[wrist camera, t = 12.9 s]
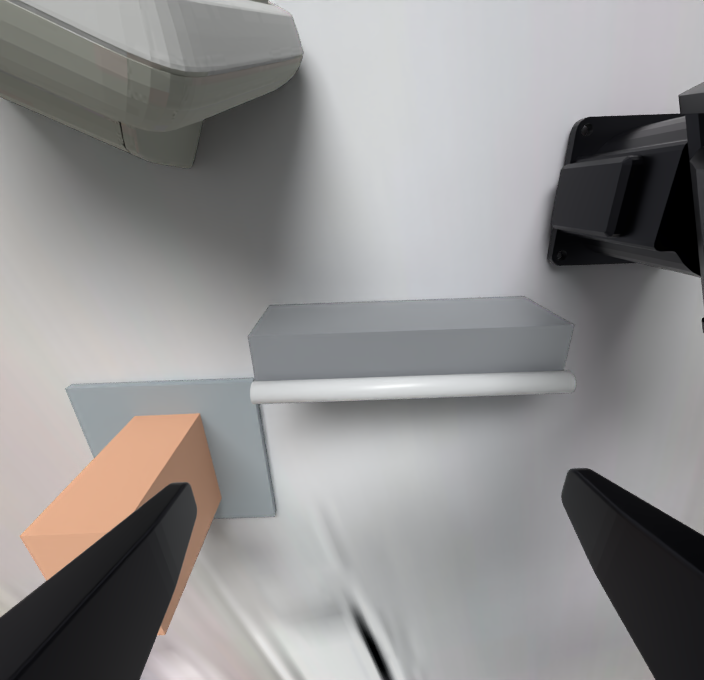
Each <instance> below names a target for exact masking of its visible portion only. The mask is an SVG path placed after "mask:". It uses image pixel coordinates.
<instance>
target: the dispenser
mask: <svg viewBox="0 0 704 680" xmlns="http://www.w3.org/2000/svg"><path fill="white" fill-rule="evenodd" d="M573 328H574V325H573V324H572V323H570V322H568V321H566V320H565V319H563V318H561V317H560V316H558V315H556V314H554V313H553V312H551V311H549V310H547V309H546V308H544V307H542V306H540V305H539V304H537V303H535V302H533V301H532V300H530V299H528V298H526V297H525V296H518V297H489V298H461V299H432V300H404V301H375V302H347V303H318V304H290V305H270V306H269V307H268V308H267V310H266V311H265V313H264V314H263V316H262V317H261V318H260V320H259V321H258V323H257V324H256V326H255V327H254V328H253V330H252V331H251V333H250V334H249V336H248V340H249V346H250V352H251V358H252V364H253V370H254V377H255V381H253V382H252V384H251V388H250V399H251V402H252V404H273V403H302V402H330V401H359V400H387V399H416V398H444V397H473V396H501V395H530V394H558V393H572V392H574V390H575V388H576V379H575V376H574V374H573V373H572V372H571V371H569V370H565V371H564V366H565V362H566V358H567V354H568V349H569V345H570V341H571V337H572V333H573Z"/></svg>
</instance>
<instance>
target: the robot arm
mask: <svg viewBox="0 0 704 680" xmlns="http://www.w3.org/2000/svg"><path fill="white" fill-rule="evenodd" d="M679 105H680V114H657V115H629V116H601V117H588V118H584V119H581V120H579V121H578V122H576V123H575V124H574V126H573V127H572V130H571V133H570V139H569V144H568V149H567V155H566V160H565V165H564V168H563V169H562V170H561V172H560V177H559V183H558V188H557V194H556V199H555V204H554V210H553V215H552V221H551V225H552V226H553V229H552V235H551V240H550V245H549V251H548V260H549V262H551V263H552V264H555V265H559V266H561V265H590V264H618V263H641V264H645V265H650V266H654V267H658V268H662V269H667V270H671V271H675V272H679V273H684V274H688V275H692V276H696V277H701V283H702V293H703V303H704V82H703V83H701V84H699V85H697V86H695V87H693V88H691V89H689V90H687V91H685V92H683V93H682V94H680V95H679ZM584 125H585V126H586V127H587V134H586V135H585V136H583V135H582V128H583V126H584ZM560 251H562V256H561V257H560V258H559V259H557V254H558V253H559V252H560ZM702 329H703V333H704V318H702ZM561 498H562V503H563V506H564V508H565V510H566V512H567V514H568V517H569V519H570V521H571V523H572V525H573V527H574V530H575V532H576V534H577V536H578V538H579V540H580V543H581V545H582V547H583V549H584V551H585V553H586V556H587V558H588V560H589V562H590V564H591V566H592V568H593V570H594V572H595V574H596V576H597V578H598V580H599V581H600V583H601V585H602V587H603V589H604V590H605V592H606V594H607V596H608V597H609V599H610V601H611V603H612V604H613V606H614V608H615V610H616V611H617V613H618V615H619V617H620V618H621V620H622V622H623V624H624V625H625V627H626V629H627V631H628V632H629V634H630V636H631V638H632V639H633V641H634V643H635V645H636V646H637V648H638V650H639V652H640V653H641V655H642V657H643V659H644V660H645V662H646V664H647V666H648V667H649V669H650V671H651V673H652V674H653V676H654V678H655V680H704V536H703V535H702V534H700V533H698V532H696V531H695V530H693V529H691V528H690V527H688V526H686V525H685V524H683V523H681V522H679V521H678V520H676V519H674V518H673V517H671V516H669V515H667V514H666V513H664V512H662V511H661V510H659V509H657V508H656V507H654V506H652V505H650V504H649V503H647V502H645V501H644V500H642V499H640V498H639V497H637V496H635V495H633V494H632V493H630V492H628V491H627V490H625V489H623V488H621V487H620V486H618V485H616V484H615V483H613V482H611V481H610V480H608V479H606V478H604V477H603V476H601V475H599V474H598V473H596V472H594V471H592V470H591V469H588V468H575V469H570V470H569V471H568V473H567V476H566V479H565V483H564V486H563V490H562V495H561ZM196 517H197V505H196V501H195V498H194V494H193V491H192V487H191V485H190V484H189V483H188V482H174V483H170V484H169V485H167V486H166V487H165V488H163V489H162V490H161V491H159V492H158V493H157V494H156V495H154V496H153V497H152V498H151V499H149V500H148V501H147V502H146V503H144V504H143V505H142V506H141V507H139V508H138V509H137V510H135V511H134V512H133V513H132V514H130V515H129V516H128V517H127V518H125V519H124V520H123V521H122V522H120V523H119V524H118V525H117V526H115V527H114V528H113V529H111V530H110V531H109V532H108V533H106V534H105V535H104V536H103V537H101V538H100V539H99V540H98V541H96V542H95V543H94V544H93V545H91V546H90V547H89V548H87V549H86V550H85V551H84V552H82V553H81V554H80V555H79V556H77V557H76V558H75V559H74V560H72V561H71V562H70V563H69V564H67V565H66V566H65V567H63V568H62V569H61V570H60V571H58V572H57V573H56V574H55V575H53V576H52V577H51V578H50V579H48V580H47V581H46V582H44V583H43V584H42V585H41V586H39V587H38V588H37V589H36V590H34V591H33V592H32V593H31V594H29V595H28V596H27V597H26V598H24V599H23V600H22V601H20V602H19V603H18V604H17V605H15V606H14V607H13V608H12V609H10V610H9V611H8V612H7V613H5V614H4V615H3V616H2V617H0V680H140V677H141V675H142V672H143V670H144V667H145V664H146V662H147V659H148V657H149V654H150V652H151V649H152V647H153V644H154V642H155V639H156V637H157V634H158V632H159V629H160V627H161V624H162V622H163V619H164V616H165V614H166V611H167V609H168V606H169V604H170V601H171V599H172V596H173V593H174V591H175V588H176V585H177V582H178V579H179V575H180V572H181V569H182V565H183V562H184V558H185V555H186V551H187V548H188V545H189V541H190V538H191V534H192V531H193V527H194V524H195V520H196Z"/></svg>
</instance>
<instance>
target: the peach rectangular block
mask: <svg viewBox="0 0 704 680" xmlns="http://www.w3.org/2000/svg"><path fill="white" fill-rule="evenodd" d="M174 482H188V483H189V484H190V485H191V487H192V491H193V494H194V498H195V501H196V505H197V517H196V520H195V524H194V527H193V531H192V534H191V538H190V541H189V545H188V548H187V551H186V555H185V558H184V562H183V565H182V569H181V572H180V575H179V579H178V582H177V585H176V588H175V591H174V593H173V596H172V599H171V601H170V604H169V606H168V609H167V611H166V614H165V616H164V619H163V622H162V624H161V627H160V629H159V632H158V634H157V635H165V634H166V632H167V629H168V627H169V624H170V622H171V620H172V617H173V615H174V612H175V610H176V608H177V605H178V603H179V600H180V598H181V595H182V593H183V591H184V588H185V586H186V583H187V581H188V578H189V576H190V574H191V571H192V569H193V566H194V564H195V561H196V559H197V557H198V554H199V552H200V549H201V547H202V545H203V542H204V540H205V537H206V535H207V532H208V530H209V528H210V525H211V523H212V520H213V518H214V515H215V513H216V511H217V508H218V506H219V503H220V501H221V498H222V497H221V493H220V489H219V486H218V482H217V478H216V474H215V470H214V466H213V462H212V458H211V454H210V451H209V447H208V443H207V439H206V435H205V431H204V427H203V423H202V419H201V416H200V413H195V414H172V415H148V416H134V417H133V418H132V419H131V420H130V421H129V423H128V424H127V425H126V426H125V427H124V428H123V429H122V430H121V431H120V432H119V433H118V434H117V435H116V436H115V437H114V438H113V439H112V440H111V441H110V442H109V443H108V444H107V446H106V447H105V448H104V449H103V450H102V451H101V452H100V453H99V454H98V455H97V456H96V457H95V458H94V459H93V460H92V461H91V462H90V463H89V464H88V465H87V466H86V467H85V468H84V470H83V471H82V472H81V473H80V474H79V475H78V476H77V477H76V478H75V479H74V480H73V481H72V482H71V483H70V484H69V485H68V486H67V487H66V488H65V489H64V490H63V491H62V492H61V494H60V495H59V496H58V497H57V498H56V499H55V500H54V501H53V502H52V503H51V504H50V505H49V506H48V507H47V508H46V509H45V510H44V511H43V512H42V513H41V514H40V515H39V517H38V518H37V519H36V520H35V521H34V522H33V523H32V524H31V525H30V526H29V527H28V528H27V529H26V530H25V531H24V532H23V533H22V534H21V535H20V538H21V539H22V541H23V543H24V544H25V546H26V548H27V549H28V551H29V552H30V554H31V556H32V557H33V559H34V561H35V562H36V564H37V566H38V567H39V569H40V571H41V572H42V574H43V576H44V577H45V579H46V581H47V580H48V579H50V578H51V577H52V576H53V575H55V574H56V573H57V572H58V571H60V570H61V569H62V568H63V567H65V566H66V565H67V564H69V563H70V562H71V561H72V560H74V559H75V558H76V557H77V556H79V555H80V554H81V553H82V552H84V551H85V550H86V549H87V548H89V547H90V546H91V545H93V544H94V543H95V542H96V541H98V540H99V539H100V538H101V537H103V536H104V535H105V534H106V533H108V532H109V531H110V530H111V529H113V528H114V527H115V526H117V525H118V524H119V523H120V522H122V521H123V520H124V519H125V518H127V517H128V516H129V515H130V514H132V513H133V512H134V511H135V510H137V509H138V508H139V507H141V506H142V505H143V504H144V503H146V502H147V501H148V500H149V499H151V498H152V497H153V496H154V495H156V494H157V493H158V492H159V491H161V490H162V489H163V488H165V487H166V486H167V485H169V484H170V483H174Z"/></svg>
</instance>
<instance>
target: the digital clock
mask: <svg viewBox="0 0 704 680" xmlns="http://www.w3.org/2000/svg"><path fill="white" fill-rule="evenodd" d="M303 54H304V52H303V48H302V45H301V41H300V38H299V34H298V31H297V28H296V25H295V23H294V20H293V17H292V15H291V14H290V13H289V12H287V11H286V10H284V9H282V8H280V7H279V6H277V5H275V4H273V3H272V2H270V1H268V0H0V97H2V98H4V99H7V100H9V101H11V102H13V103H16V104H18V105H20V106H23V107H25V108H27V109H29V110H32V111H34V112H36V113H39V114H41V115H43V116H45V117H48V118H50V119H52V120H55V121H57V122H59V123H62V124H64V125H66V126H68V127H71V128H73V129H75V130H78V131H80V132H82V133H84V134H87V135H89V136H91V137H94V138H96V139H98V140H100V141H103V142H105V143H107V144H110V145H112V146H114V147H116V148H119V149H121V150H123V151H126V152H128V153H130V154H133V155H135V156H137V157H139V158H141V159H144V160H146V161H148V162H152V163H157V164H163V165H169V166H175V167H181V168H187V169H189V168H191V167H192V165H193V162H194V159H195V155H196V150H197V146H198V141H199V137H200V132H201V128H202V124H203V120H204V119H206V118H209V117H211V116H214V115H216V114H219V113H221V112H223V111H226V110H228V109H231V108H233V107H236V106H238V105H240V104H243V103H245V102H248V101H250V100H253V99H255V98H257V97H260V96H262V95H265V94H267V93H270V92H272V91H274V90H276V89H278V88H279V87H281V86H282V85H284V84H285V83H286V82H288V81H289V80H290V79H291V78H292V77H293V76H294V75H295V73H296V71H297V69H298V68H299V66H300V63H301V61H302V57H303V56H302V55H303Z"/></svg>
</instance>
